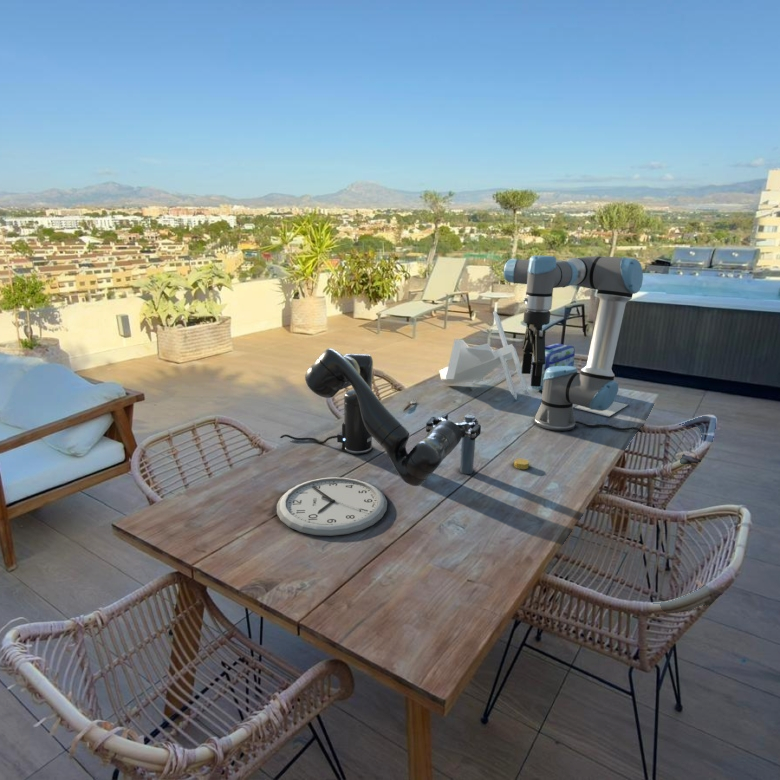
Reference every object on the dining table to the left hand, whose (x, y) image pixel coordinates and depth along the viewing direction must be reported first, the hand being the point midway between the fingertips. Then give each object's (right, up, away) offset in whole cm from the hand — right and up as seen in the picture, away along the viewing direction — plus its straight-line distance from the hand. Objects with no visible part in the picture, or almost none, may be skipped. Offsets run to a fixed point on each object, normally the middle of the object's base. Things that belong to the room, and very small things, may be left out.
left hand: (460, 419), depth 149 cm
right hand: (+23, +12, +11) cm, 28 cm away
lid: (+22, -15, +19) cm, 33 cm away
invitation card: (+71, +1, +77) cm, 105 cm away
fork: (-12, +1, +74) cm, 75 cm away
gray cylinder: (+4, -17, +15) cm, 23 cm away
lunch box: (+57, +9, +103) cm, 118 cm away
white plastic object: (+21, +7, +94) cm, 97 cm away
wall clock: (-36, -23, -6) cm, 43 cm away
